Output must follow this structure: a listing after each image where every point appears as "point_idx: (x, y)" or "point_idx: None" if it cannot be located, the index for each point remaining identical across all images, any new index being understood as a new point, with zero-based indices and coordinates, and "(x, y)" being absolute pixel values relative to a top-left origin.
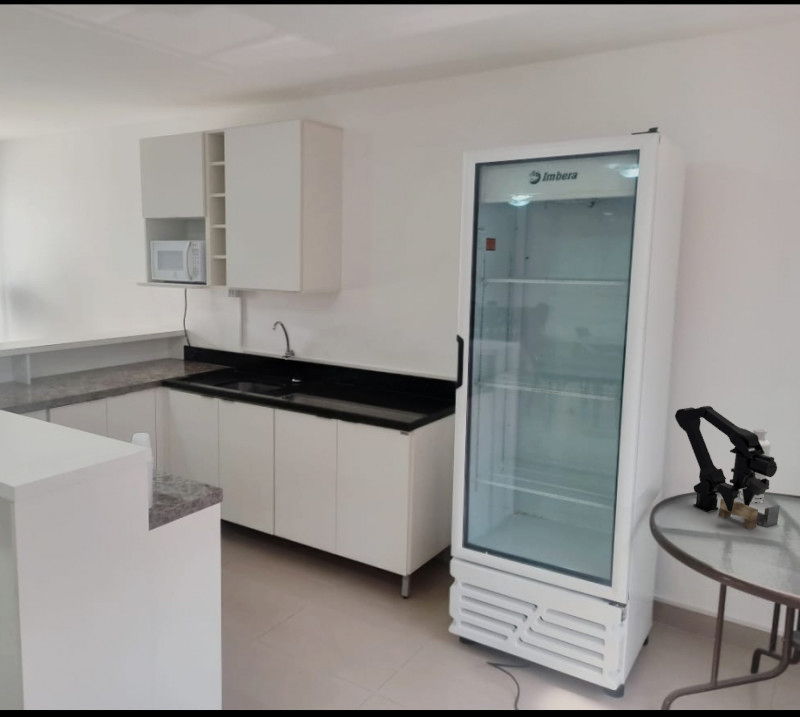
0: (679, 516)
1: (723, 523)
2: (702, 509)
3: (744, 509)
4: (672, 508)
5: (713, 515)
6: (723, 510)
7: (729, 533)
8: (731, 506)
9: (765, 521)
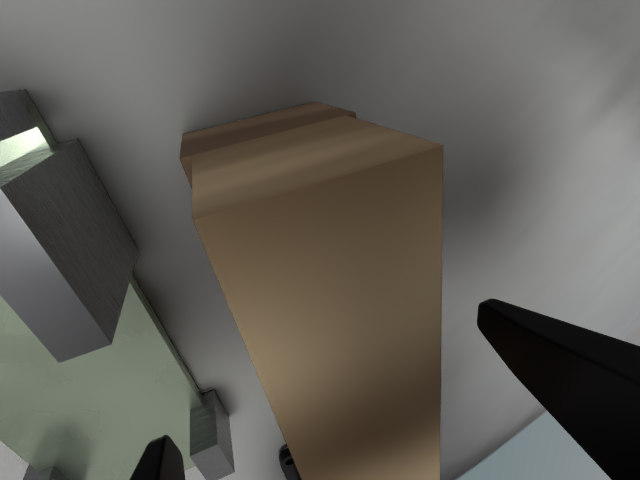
0: None
1: None
2: None
3: (432, 278)
4: (503, 417)
5: None
6: None
7: (553, 61)
8: (588, 331)
9: (5, 129)
